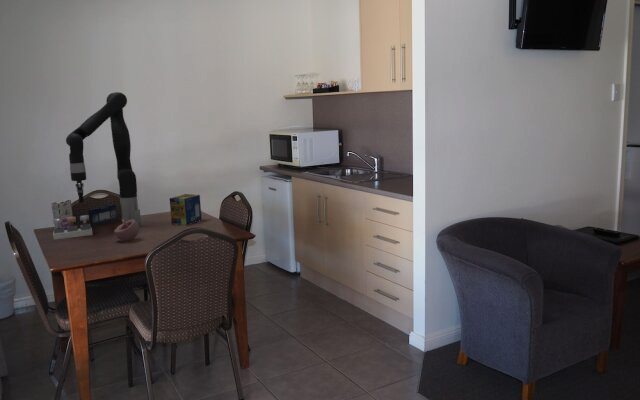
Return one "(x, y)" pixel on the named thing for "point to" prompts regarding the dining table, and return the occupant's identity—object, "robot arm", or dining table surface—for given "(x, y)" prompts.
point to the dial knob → (71, 220)
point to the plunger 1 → (57, 221)
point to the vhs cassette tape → (102, 215)
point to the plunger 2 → (84, 218)
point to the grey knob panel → (72, 232)
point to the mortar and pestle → (127, 230)
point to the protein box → (185, 209)
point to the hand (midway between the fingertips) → (81, 201)
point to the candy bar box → (62, 212)
